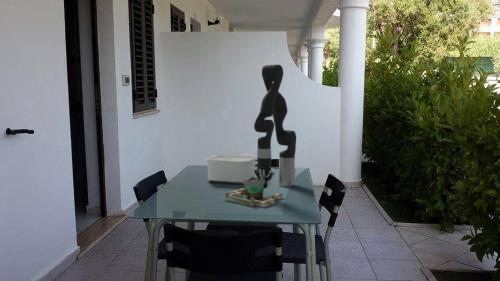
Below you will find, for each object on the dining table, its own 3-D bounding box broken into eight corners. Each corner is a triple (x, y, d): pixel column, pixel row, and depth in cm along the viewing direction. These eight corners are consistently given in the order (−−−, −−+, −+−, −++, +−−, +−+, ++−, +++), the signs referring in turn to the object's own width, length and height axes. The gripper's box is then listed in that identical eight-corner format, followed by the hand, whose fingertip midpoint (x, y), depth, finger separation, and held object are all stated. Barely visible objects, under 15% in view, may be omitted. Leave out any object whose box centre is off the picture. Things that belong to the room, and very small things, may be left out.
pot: (198, 182, 281) (198, 159, 279) (214, 174, 308) (214, 152, 307) (251, 186, 272) (252, 162, 270) (263, 177, 299) (263, 155, 298)
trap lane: (249, 191, 259) (249, 184, 259) (289, 199, 241) (289, 192, 241) (218, 198, 241) (218, 191, 241) (259, 208, 223) (259, 200, 222)
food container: (245, 200, 238) (244, 182, 237) (242, 197, 244) (242, 179, 243) (268, 199, 241) (267, 180, 239) (265, 195, 247) (265, 177, 245)
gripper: (278, 157, 243) (278, 188, 245) (259, 154, 251) (259, 185, 254) (269, 158, 237) (269, 191, 240) (250, 156, 246) (250, 187, 248)
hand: (264, 188), depth 247 cm, fingers closed
